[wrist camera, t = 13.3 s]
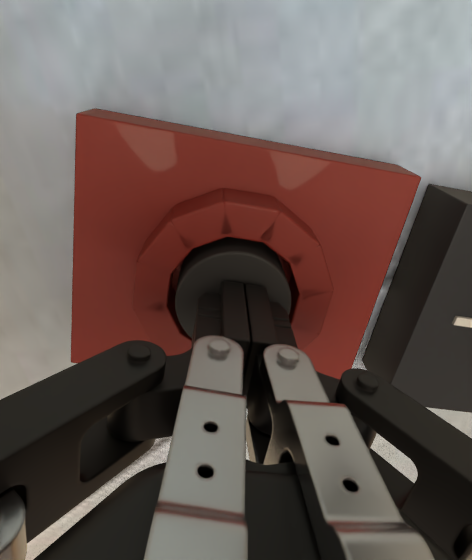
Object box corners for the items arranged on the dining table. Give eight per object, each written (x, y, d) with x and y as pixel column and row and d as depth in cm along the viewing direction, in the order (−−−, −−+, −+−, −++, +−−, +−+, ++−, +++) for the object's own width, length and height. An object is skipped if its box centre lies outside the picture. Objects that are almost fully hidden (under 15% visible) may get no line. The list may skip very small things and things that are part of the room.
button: (173, 317, 17) (168, 346, 15) (186, 222, 15) (182, 242, 14) (270, 330, 18) (277, 360, 16) (294, 239, 16) (304, 261, 14)
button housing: (84, 334, 20) (56, 391, 16) (93, 107, 16) (57, 118, 12) (330, 365, 21) (353, 424, 18) (398, 164, 17) (446, 189, 14)
